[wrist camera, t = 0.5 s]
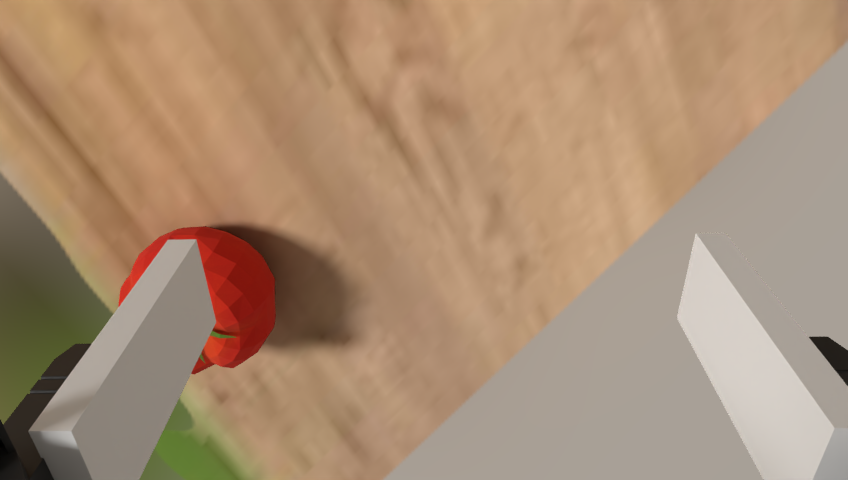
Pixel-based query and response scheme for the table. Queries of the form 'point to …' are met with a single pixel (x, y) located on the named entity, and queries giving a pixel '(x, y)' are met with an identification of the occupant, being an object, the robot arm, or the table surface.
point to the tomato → (224, 293)
